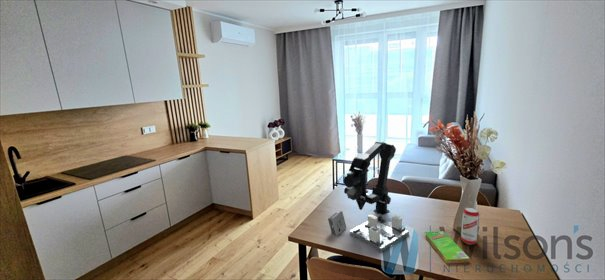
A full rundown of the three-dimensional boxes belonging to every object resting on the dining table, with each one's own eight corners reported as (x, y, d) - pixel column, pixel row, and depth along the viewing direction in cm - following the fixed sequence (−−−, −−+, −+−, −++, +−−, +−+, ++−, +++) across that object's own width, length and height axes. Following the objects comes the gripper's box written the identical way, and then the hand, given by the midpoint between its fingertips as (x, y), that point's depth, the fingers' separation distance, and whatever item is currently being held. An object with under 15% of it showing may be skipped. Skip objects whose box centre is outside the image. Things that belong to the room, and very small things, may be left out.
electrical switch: (337, 236, 134) (335, 219, 132) (328, 234, 137) (326, 217, 136) (346, 228, 141) (345, 211, 139) (338, 226, 144) (336, 209, 143)
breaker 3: (394, 224, 137) (395, 214, 136) (401, 227, 134) (402, 217, 133) (391, 226, 135) (391, 216, 134) (398, 229, 132) (399, 219, 131)
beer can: (476, 247, 120) (480, 214, 117) (460, 243, 124) (463, 211, 120) (476, 239, 126) (479, 208, 122) (460, 236, 129) (463, 205, 125)
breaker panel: (377, 219, 147) (377, 214, 146) (408, 234, 132) (409, 229, 131) (350, 234, 135) (350, 228, 134) (381, 252, 120) (381, 246, 119)
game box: (445, 265, 112) (423, 235, 131) (469, 264, 112) (443, 234, 131) (446, 259, 111) (423, 229, 130) (470, 258, 111) (444, 229, 130)
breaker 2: (372, 237, 127) (372, 226, 126) (379, 241, 124) (380, 229, 123) (369, 239, 126) (369, 228, 125) (376, 243, 123) (376, 231, 121)
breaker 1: (371, 224, 138) (371, 214, 137) (377, 227, 135) (377, 216, 134) (367, 225, 137) (367, 215, 136) (374, 229, 134) (374, 218, 133)
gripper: (336, 180, 140) (337, 208, 144) (364, 191, 126) (364, 221, 129) (351, 175, 147) (351, 201, 150) (379, 184, 132) (379, 214, 135)
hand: (360, 209), depth 141 cm, fingers closed
